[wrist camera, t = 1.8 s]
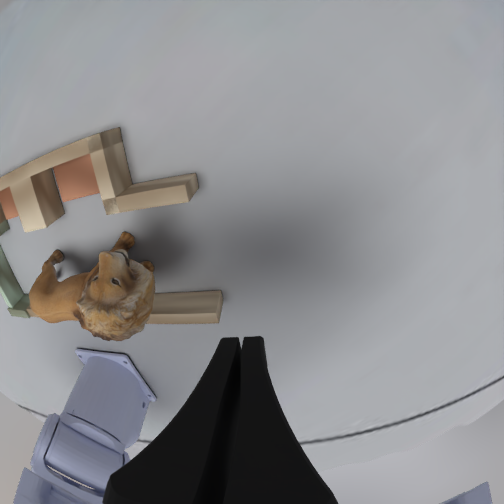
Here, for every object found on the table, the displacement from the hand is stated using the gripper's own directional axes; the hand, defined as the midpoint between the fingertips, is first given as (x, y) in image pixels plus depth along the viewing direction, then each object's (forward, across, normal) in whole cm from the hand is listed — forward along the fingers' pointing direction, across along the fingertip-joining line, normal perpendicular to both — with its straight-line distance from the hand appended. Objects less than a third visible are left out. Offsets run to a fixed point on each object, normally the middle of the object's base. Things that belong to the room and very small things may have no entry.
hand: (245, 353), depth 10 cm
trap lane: (+9, +15, -2) cm, 18 cm away
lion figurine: (+10, +12, 0) cm, 15 cm away
